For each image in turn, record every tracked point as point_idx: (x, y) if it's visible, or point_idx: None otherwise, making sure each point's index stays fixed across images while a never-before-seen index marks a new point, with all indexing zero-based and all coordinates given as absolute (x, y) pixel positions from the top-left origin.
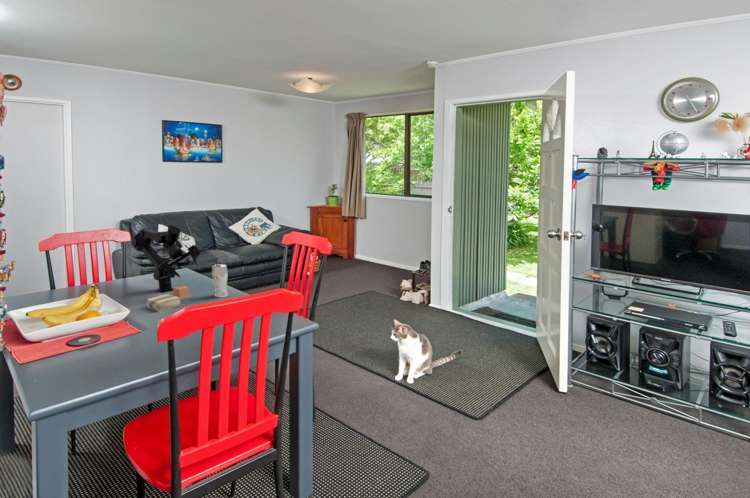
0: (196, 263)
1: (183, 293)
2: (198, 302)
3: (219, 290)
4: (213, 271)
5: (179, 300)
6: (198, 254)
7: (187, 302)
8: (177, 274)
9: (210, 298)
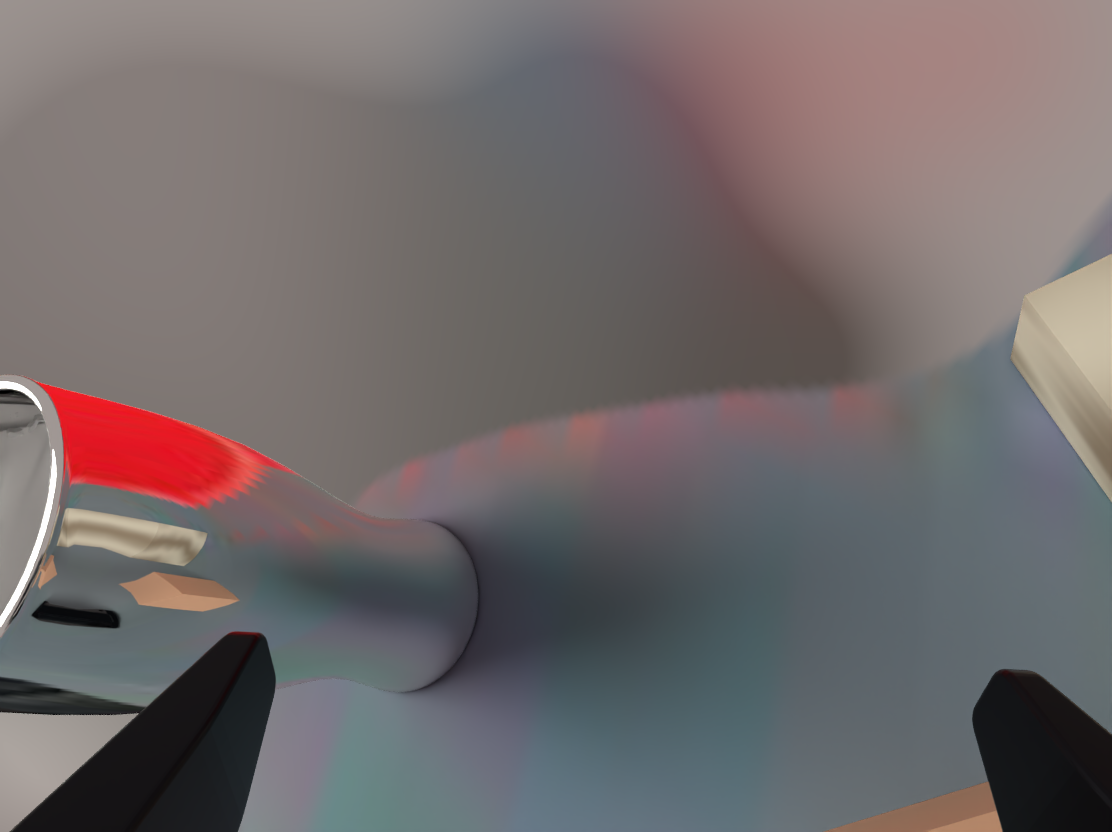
0: (197, 679)
1: (914, 818)
2: (723, 438)
3: (384, 521)
4: (169, 483)
5: (1025, 313)
6: None
7: (877, 514)
8: (1102, 738)
9: (545, 554)
